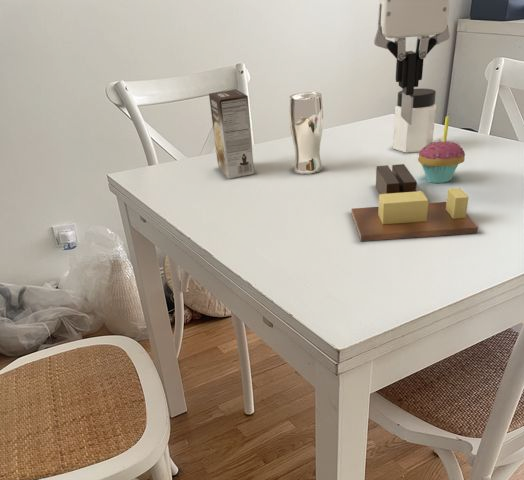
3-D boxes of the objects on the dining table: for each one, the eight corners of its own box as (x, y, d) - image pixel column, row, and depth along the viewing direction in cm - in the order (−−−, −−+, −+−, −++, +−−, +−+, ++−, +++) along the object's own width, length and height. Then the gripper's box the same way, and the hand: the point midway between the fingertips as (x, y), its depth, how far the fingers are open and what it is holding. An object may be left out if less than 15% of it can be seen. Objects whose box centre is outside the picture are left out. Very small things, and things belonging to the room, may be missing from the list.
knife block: (402, 184, 105) (403, 163, 103) (415, 204, 96) (416, 181, 94) (375, 186, 105) (376, 166, 103) (385, 206, 96) (386, 184, 94)
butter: (420, 211, 90) (421, 190, 88) (426, 221, 86) (428, 200, 84) (378, 214, 91) (379, 194, 89) (382, 224, 87) (383, 203, 85)
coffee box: (217, 168, 124) (207, 92, 115) (243, 164, 125) (236, 88, 116) (228, 179, 117) (218, 99, 108) (255, 174, 118) (249, 94, 109)
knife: (405, 115, 94) (409, 49, 88) (414, 124, 88) (419, 54, 82) (398, 116, 94) (402, 50, 88) (406, 125, 88) (411, 55, 83)
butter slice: (457, 208, 90) (460, 187, 88) (465, 218, 86) (468, 196, 84) (445, 209, 90) (447, 188, 88) (453, 219, 86) (455, 197, 84)
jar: (428, 142, 128) (433, 87, 122) (435, 151, 122) (441, 93, 115) (390, 144, 129) (393, 90, 122) (395, 153, 123) (399, 96, 116)
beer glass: (322, 174, 114) (321, 97, 106) (290, 175, 116) (286, 99, 107) (325, 164, 120) (324, 91, 111) (294, 165, 121) (290, 93, 113)
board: (455, 206, 93) (456, 200, 93) (477, 233, 84) (478, 227, 83) (351, 213, 94) (351, 208, 94) (360, 241, 85) (360, 235, 84)
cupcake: (422, 171, 111) (427, 108, 104) (465, 174, 107) (474, 109, 100) (412, 184, 104) (417, 119, 98) (457, 188, 101) (466, 120, 94)
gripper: (464, -58, 81) (449, 78, 91) (360, -48, 81) (357, 86, 92) (480, -61, 74) (462, 86, 85) (368, -50, 75) (364, 94, 86)
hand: (408, 85), depth 88 cm, fingers closed on knife, 1 cm apart
